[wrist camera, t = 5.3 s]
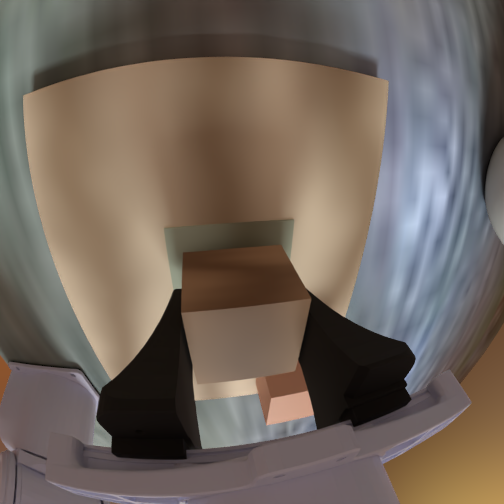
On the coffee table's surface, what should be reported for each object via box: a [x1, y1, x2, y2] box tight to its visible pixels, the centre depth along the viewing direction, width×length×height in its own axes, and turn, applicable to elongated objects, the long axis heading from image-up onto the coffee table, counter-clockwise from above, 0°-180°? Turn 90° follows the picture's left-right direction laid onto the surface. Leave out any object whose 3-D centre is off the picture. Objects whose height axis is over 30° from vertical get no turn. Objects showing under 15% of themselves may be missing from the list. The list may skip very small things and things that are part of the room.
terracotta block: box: [256, 361, 314, 425], centre depth 18 cm, size 5×5×4 cm
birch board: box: [23, 57, 388, 400], centre depth 16 cm, size 18×24×1 cm
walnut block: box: [181, 245, 311, 384], centre depth 12 cm, size 5×5×4 cm
